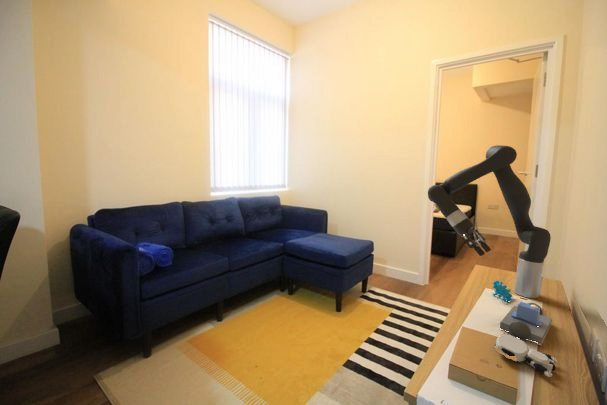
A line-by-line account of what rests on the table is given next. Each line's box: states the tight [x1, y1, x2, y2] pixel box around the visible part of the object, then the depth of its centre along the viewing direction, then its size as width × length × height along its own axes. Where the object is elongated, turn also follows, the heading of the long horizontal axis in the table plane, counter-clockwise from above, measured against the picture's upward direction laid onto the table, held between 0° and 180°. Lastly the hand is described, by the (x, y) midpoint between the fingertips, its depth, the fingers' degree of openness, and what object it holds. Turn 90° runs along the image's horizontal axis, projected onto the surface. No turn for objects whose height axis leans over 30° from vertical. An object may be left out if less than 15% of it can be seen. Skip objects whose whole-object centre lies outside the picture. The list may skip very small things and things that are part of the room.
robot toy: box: [493, 331, 558, 378], centre depth 88 cm, size 12×4×15 cm
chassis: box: [499, 302, 553, 346], centre depth 106 cm, size 12×23×6 cm, turn 131°
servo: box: [511, 301, 543, 327], centre depth 106 cm, size 9×4×9 cm, turn 42°
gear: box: [492, 280, 513, 302], centre depth 131 cm, size 11×6×10 cm
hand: (486, 253), depth 120 cm, fingers open, 8 cm apart
